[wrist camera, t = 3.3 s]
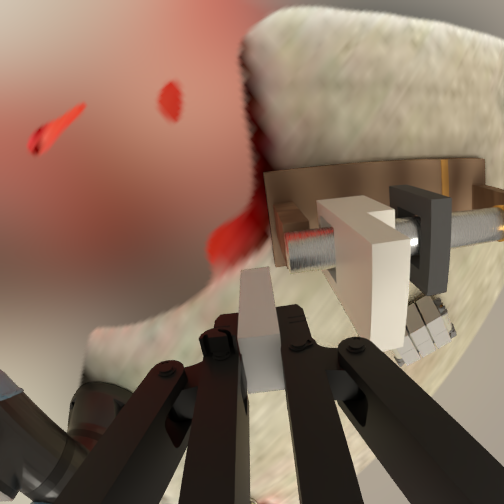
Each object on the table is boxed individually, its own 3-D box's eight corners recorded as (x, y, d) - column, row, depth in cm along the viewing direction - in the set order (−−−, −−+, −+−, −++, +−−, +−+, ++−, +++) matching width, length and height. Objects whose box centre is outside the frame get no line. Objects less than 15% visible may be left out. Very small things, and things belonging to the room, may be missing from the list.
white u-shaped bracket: (321, 271, 27) (369, 354, 15) (316, 200, 25) (372, 244, 14) (366, 264, 27) (433, 338, 15) (363, 195, 25) (444, 233, 13)
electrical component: (304, 388, 46) (303, 413, 42) (282, 366, 45) (279, 392, 40) (447, 316, 38) (459, 338, 33) (434, 285, 36) (447, 307, 32)
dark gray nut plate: (390, 263, 27) (427, 296, 21) (388, 185, 25) (431, 199, 18) (407, 260, 27) (446, 291, 21) (406, 184, 25) (451, 197, 18)
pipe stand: (274, 262, 36) (285, 306, 26) (263, 172, 33) (270, 182, 23) (477, 232, 35) (527, 257, 25) (477, 158, 32) (533, 167, 22)
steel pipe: (287, 266, 25) (292, 283, 22) (282, 225, 24) (288, 237, 21) (528, 228, 24) (547, 237, 21) (529, 198, 23) (550, 205, 20)
